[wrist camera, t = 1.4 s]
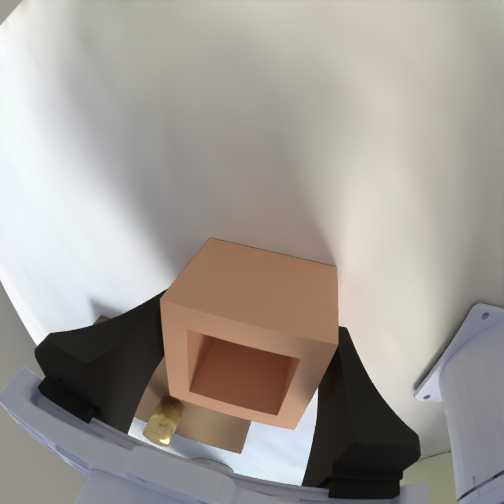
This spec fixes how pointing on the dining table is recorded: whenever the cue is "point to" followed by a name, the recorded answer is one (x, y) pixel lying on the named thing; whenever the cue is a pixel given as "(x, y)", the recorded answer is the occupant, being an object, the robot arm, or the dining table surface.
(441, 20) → the dining table surface
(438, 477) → the can
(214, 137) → the dining table surface
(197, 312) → the open box
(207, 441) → the keeper
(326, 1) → the dining table surface
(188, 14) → the dining table surface
